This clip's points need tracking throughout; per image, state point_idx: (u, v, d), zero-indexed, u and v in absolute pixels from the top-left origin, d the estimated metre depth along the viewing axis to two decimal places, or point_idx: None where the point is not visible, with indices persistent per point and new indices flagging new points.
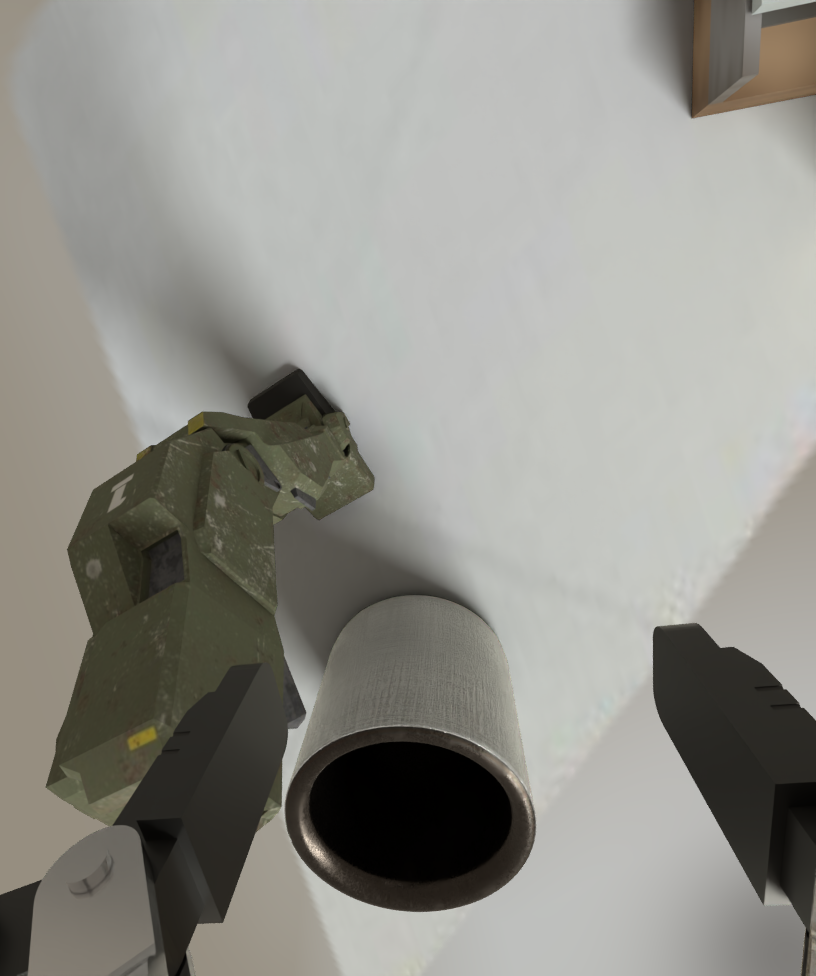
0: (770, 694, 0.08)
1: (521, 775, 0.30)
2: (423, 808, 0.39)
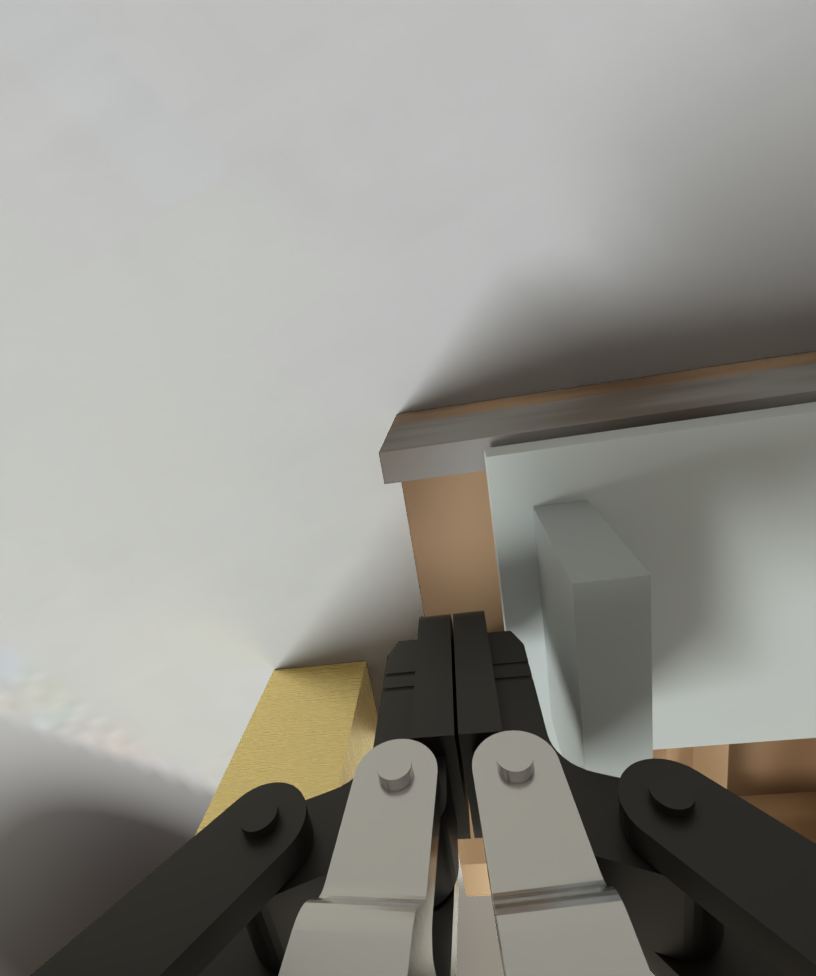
0: (514, 668, 0.09)
1: None
2: None
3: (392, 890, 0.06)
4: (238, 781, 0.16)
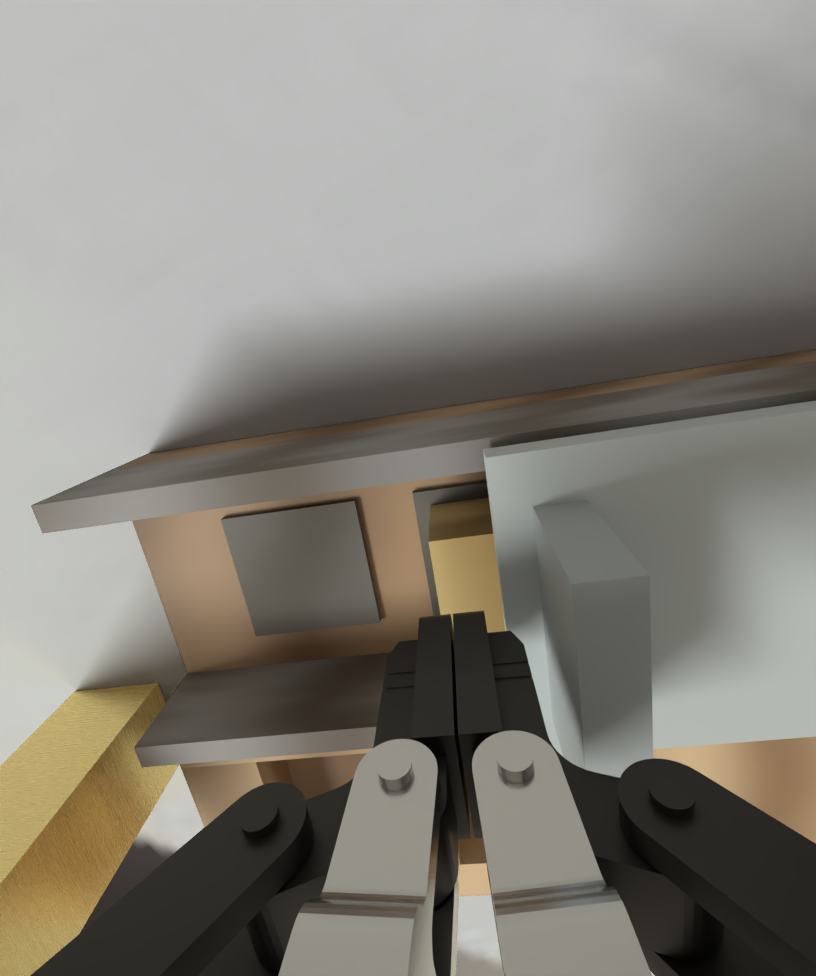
0: (514, 668, 0.09)
1: None
2: None
3: (392, 890, 0.06)
4: None
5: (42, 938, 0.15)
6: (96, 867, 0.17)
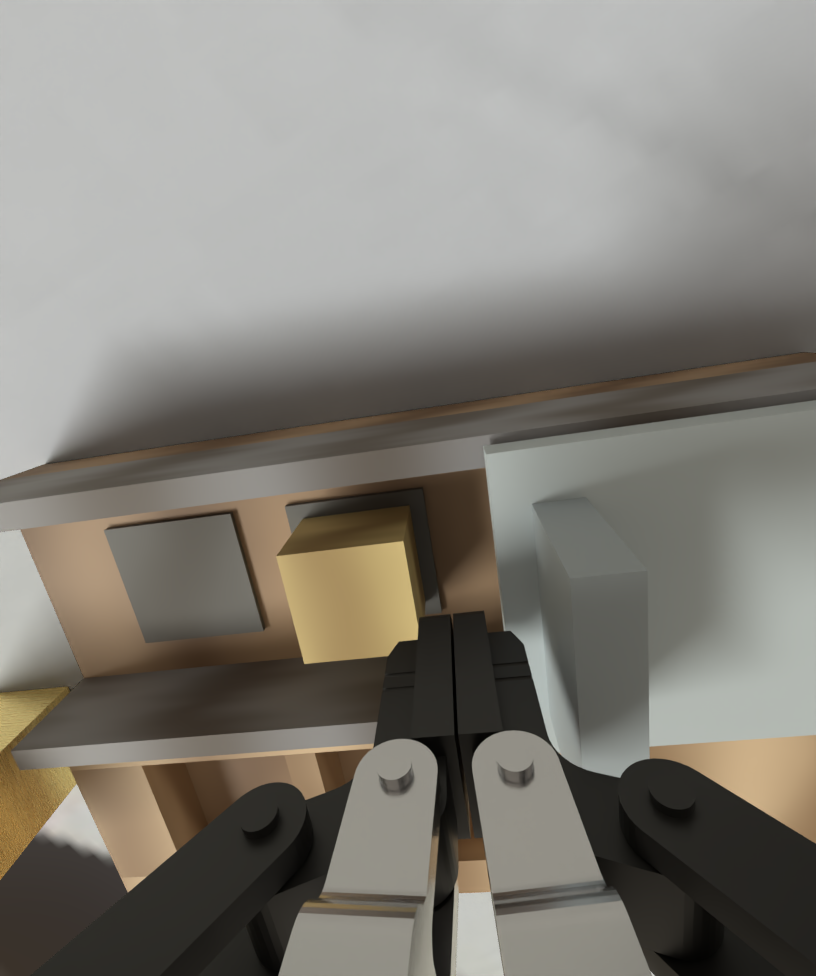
0: (514, 668, 0.09)
1: None
2: None
3: (392, 890, 0.06)
4: None
5: None
6: None
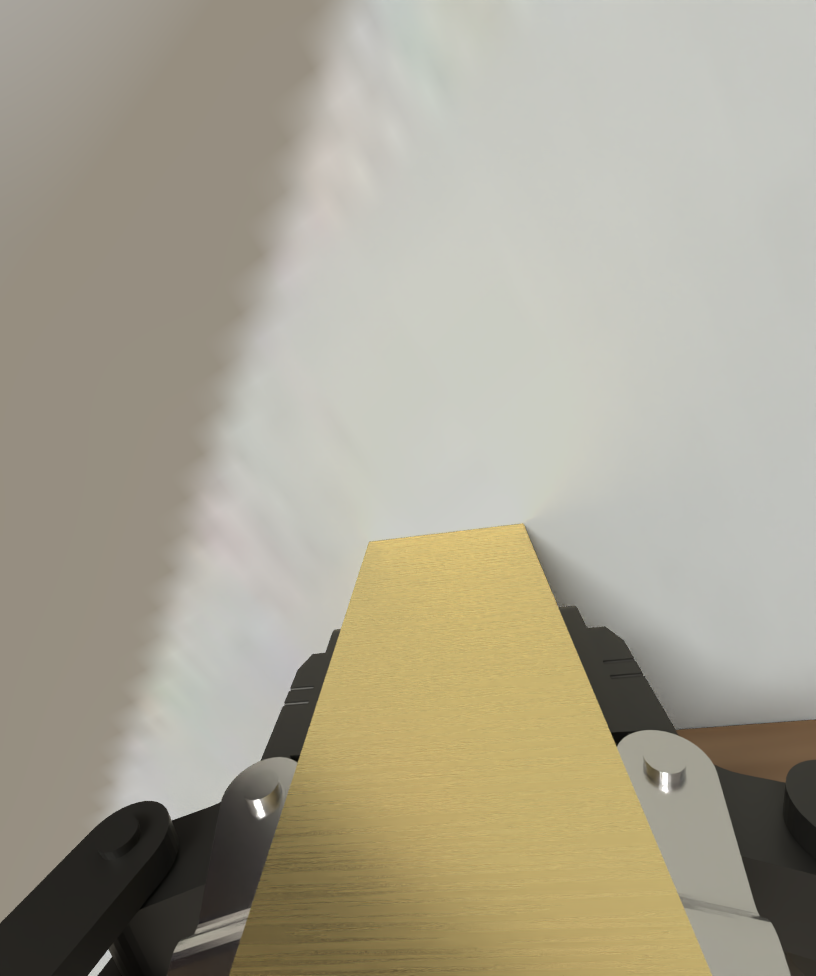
0: (621, 665, 0.09)
1: None
2: None
3: None
4: None
5: None
6: None
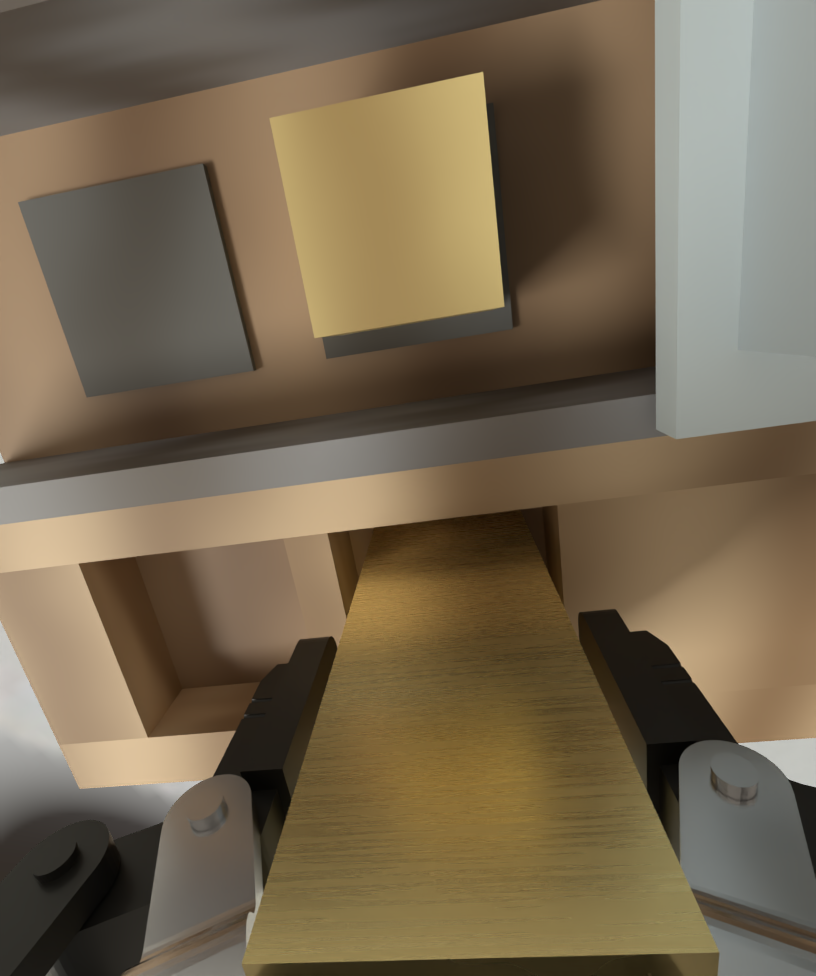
0: (668, 671, 0.09)
1: None
2: None
3: (220, 917, 0.06)
4: None
5: None
6: None
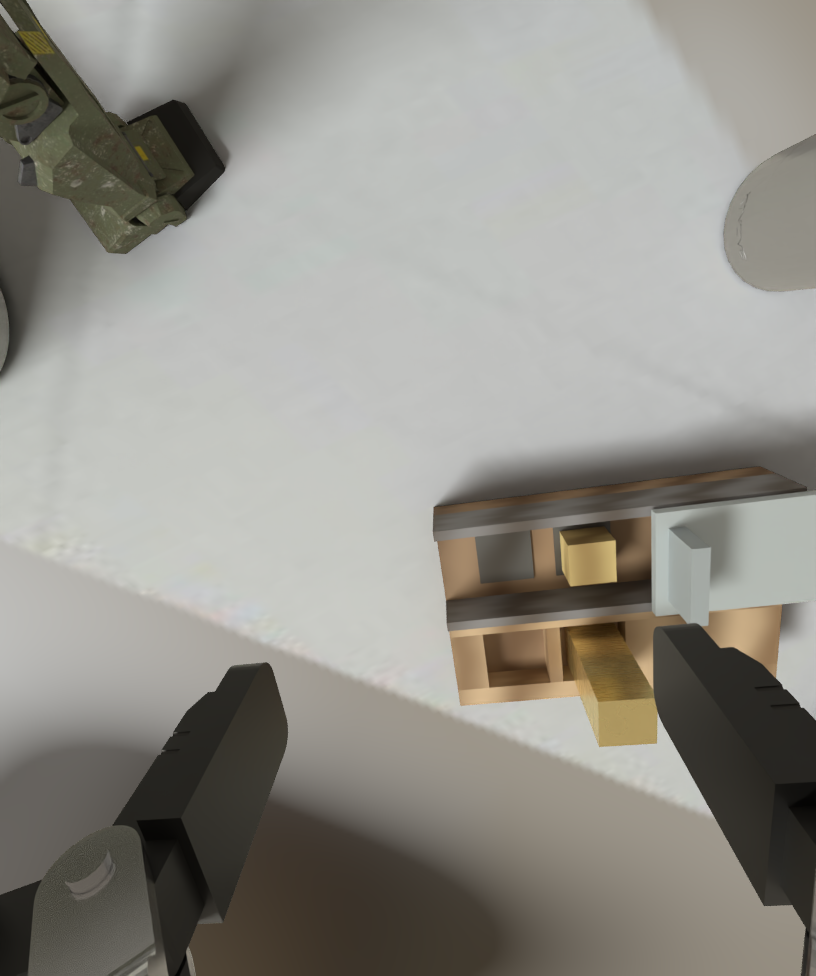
0: (770, 694, 0.08)
1: None
2: None
3: (115, 973, 0.05)
4: None
5: None
6: None
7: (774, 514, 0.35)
